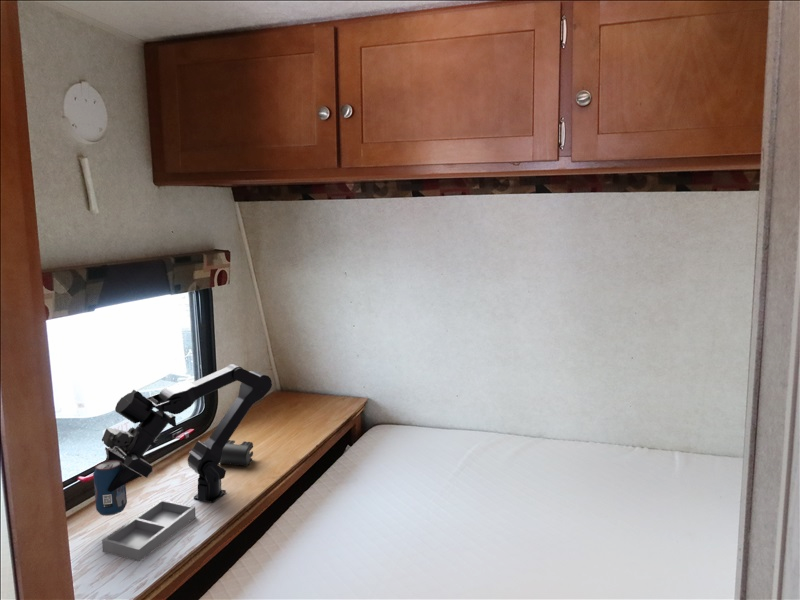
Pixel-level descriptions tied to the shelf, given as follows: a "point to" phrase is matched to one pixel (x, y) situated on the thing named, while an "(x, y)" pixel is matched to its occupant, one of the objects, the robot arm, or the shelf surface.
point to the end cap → (237, 453)
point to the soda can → (104, 499)
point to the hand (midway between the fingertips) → (103, 485)
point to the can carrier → (148, 530)
